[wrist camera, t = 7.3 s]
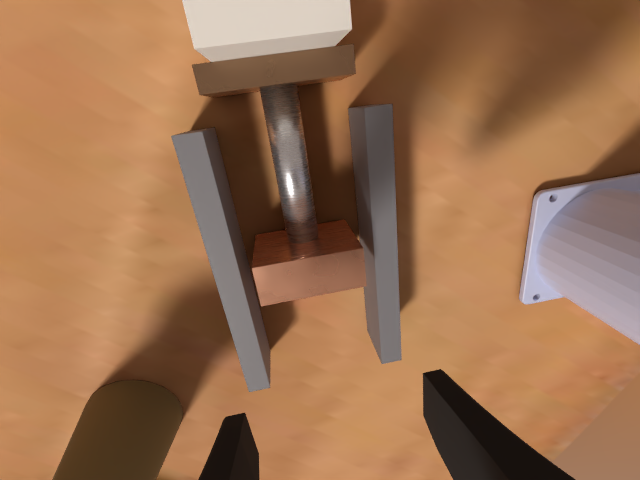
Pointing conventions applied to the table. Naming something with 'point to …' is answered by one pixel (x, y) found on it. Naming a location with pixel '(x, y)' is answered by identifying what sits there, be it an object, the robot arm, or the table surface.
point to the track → (230, 256)
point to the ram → (292, 174)
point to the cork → (122, 433)
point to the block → (265, 26)
